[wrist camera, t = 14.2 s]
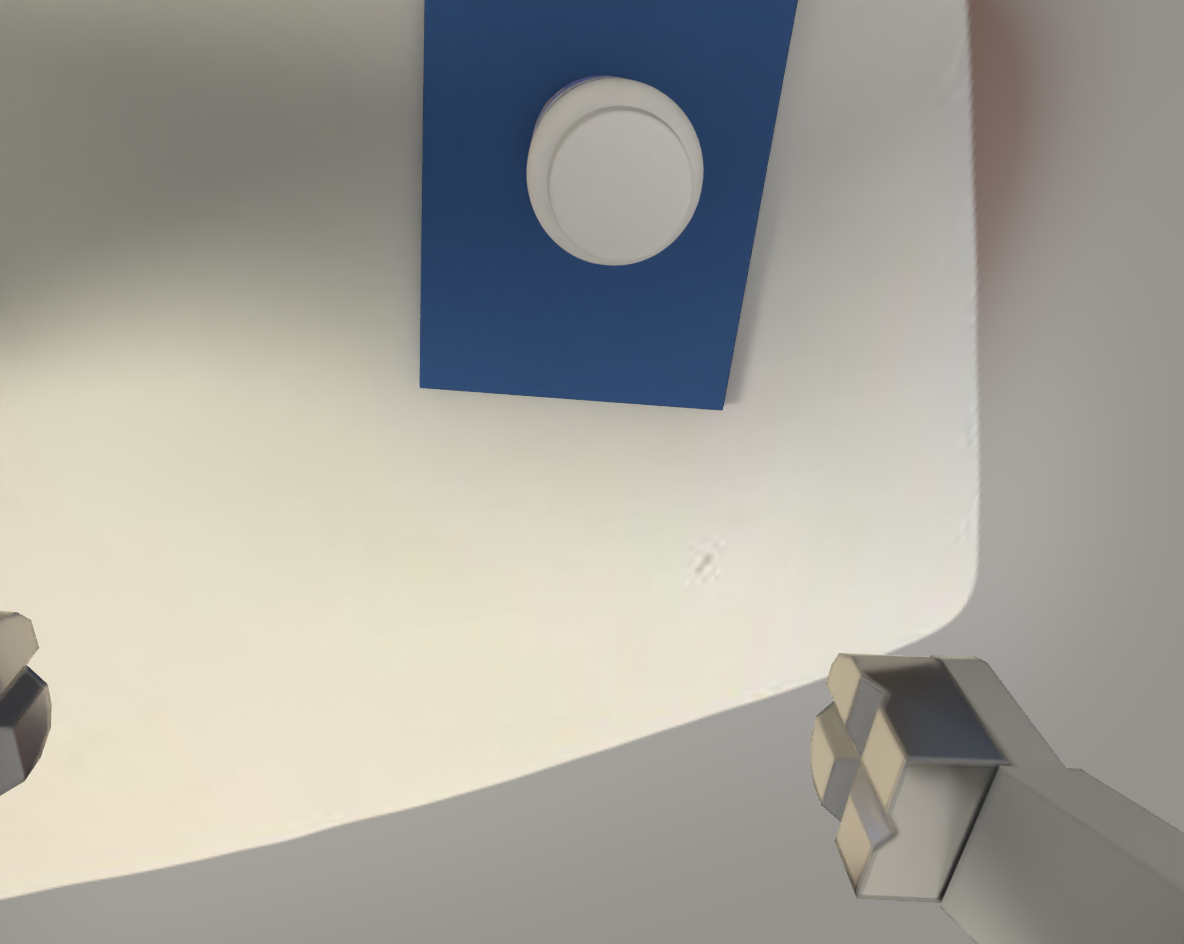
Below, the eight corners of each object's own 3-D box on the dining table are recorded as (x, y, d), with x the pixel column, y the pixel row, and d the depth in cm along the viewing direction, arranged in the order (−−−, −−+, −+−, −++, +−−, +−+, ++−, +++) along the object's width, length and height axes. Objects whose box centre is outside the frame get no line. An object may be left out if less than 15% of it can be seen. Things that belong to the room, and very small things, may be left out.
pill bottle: (691, 196, 32) (747, 248, 24) (561, 248, 33) (569, 317, 24) (645, 48, 30) (689, 46, 21) (505, 107, 31) (492, 128, 22)
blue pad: (421, 383, 36) (419, 388, 35) (429, -202, 27) (427, -207, 26) (720, 405, 37) (722, 410, 36) (820, -147, 28) (826, -151, 28)
